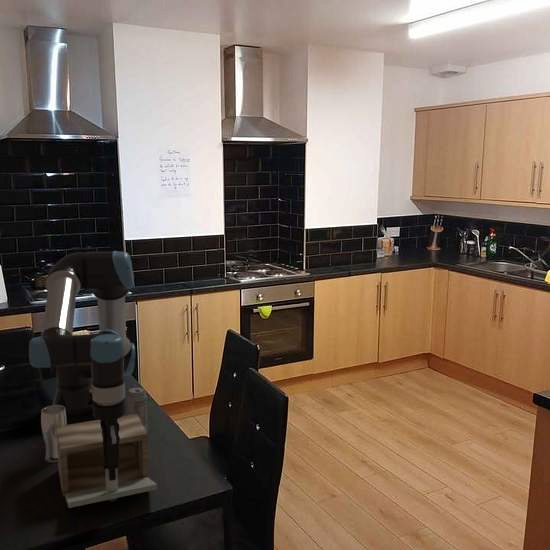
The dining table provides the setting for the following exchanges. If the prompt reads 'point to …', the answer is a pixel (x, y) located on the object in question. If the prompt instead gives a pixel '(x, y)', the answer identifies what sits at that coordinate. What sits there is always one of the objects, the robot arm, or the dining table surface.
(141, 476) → the cabinet
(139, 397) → the energy drink can
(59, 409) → the beer glass
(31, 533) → the dining table surface
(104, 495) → the door
